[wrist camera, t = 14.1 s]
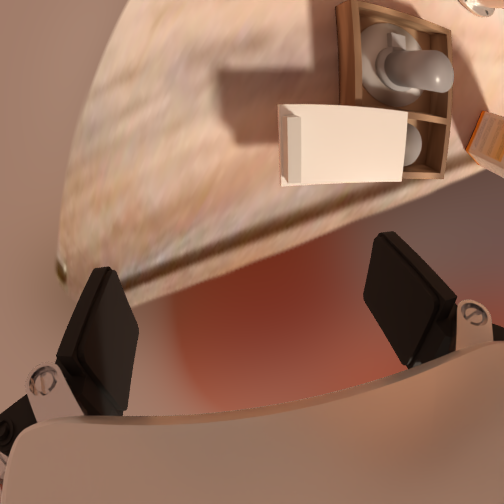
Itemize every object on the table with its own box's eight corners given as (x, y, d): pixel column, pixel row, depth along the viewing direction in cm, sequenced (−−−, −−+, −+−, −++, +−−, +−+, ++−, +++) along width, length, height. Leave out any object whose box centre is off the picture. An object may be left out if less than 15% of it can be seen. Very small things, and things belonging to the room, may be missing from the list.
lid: (404, 111, 25) (419, 115, 23) (398, 179, 29) (411, 187, 27) (277, 104, 24) (284, 105, 21) (279, 184, 28) (286, 193, 26)
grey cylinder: (412, 40, 23) (456, 38, 16) (412, 93, 27) (457, 102, 20) (373, 30, 22) (415, 22, 16) (375, 87, 26) (418, 93, 20)
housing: (430, 31, 23) (450, 30, 19) (425, 169, 33) (443, 179, 30) (335, 6, 21) (350, -2, 18) (337, 168, 32) (351, 179, 29)
